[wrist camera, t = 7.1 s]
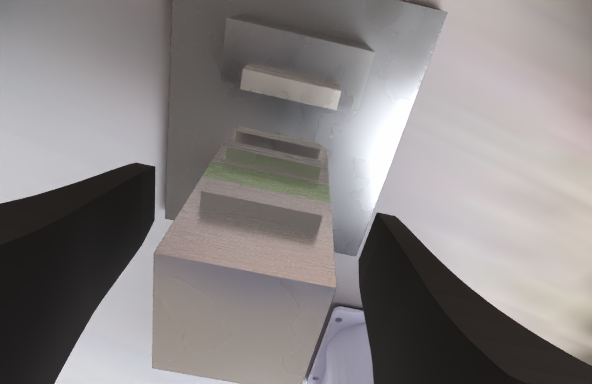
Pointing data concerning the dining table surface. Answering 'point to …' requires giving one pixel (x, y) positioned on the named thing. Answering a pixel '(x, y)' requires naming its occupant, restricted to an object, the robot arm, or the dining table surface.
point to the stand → (298, 89)
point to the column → (247, 264)
